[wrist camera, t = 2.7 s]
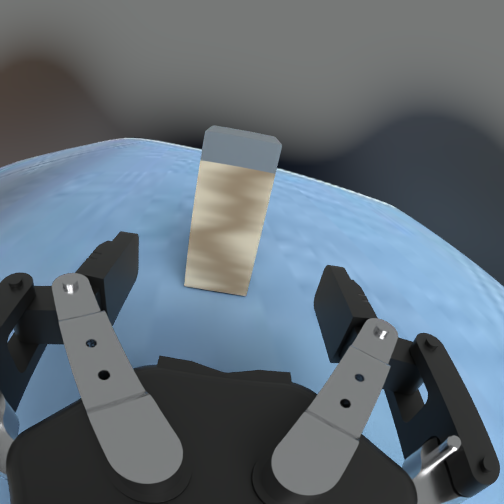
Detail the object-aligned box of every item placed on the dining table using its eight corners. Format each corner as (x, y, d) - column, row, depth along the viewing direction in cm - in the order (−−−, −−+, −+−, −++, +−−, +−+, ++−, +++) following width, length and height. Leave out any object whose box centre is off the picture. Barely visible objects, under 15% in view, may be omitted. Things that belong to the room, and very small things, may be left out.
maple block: (184, 285, 23) (205, 130, 18) (193, 255, 28) (213, 125, 22) (246, 296, 24) (282, 145, 19) (245, 264, 28) (274, 136, 23)
